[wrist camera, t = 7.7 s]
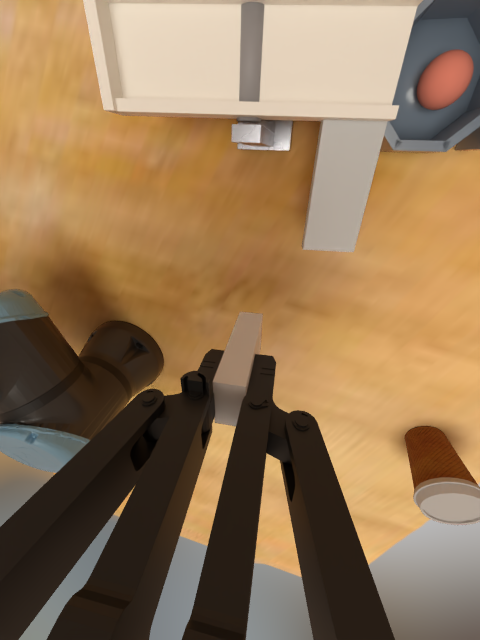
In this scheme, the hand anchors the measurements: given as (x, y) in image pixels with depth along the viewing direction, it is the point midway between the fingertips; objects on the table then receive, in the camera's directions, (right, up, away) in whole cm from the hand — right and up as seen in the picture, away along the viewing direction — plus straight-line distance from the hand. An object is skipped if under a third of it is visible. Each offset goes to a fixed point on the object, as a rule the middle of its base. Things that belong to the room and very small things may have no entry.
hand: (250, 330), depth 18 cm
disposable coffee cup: (+33, -21, +31) cm, 50 cm away
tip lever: (0, +17, +6) cm, 18 cm away
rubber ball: (+17, +22, +6) cm, 29 cm away
